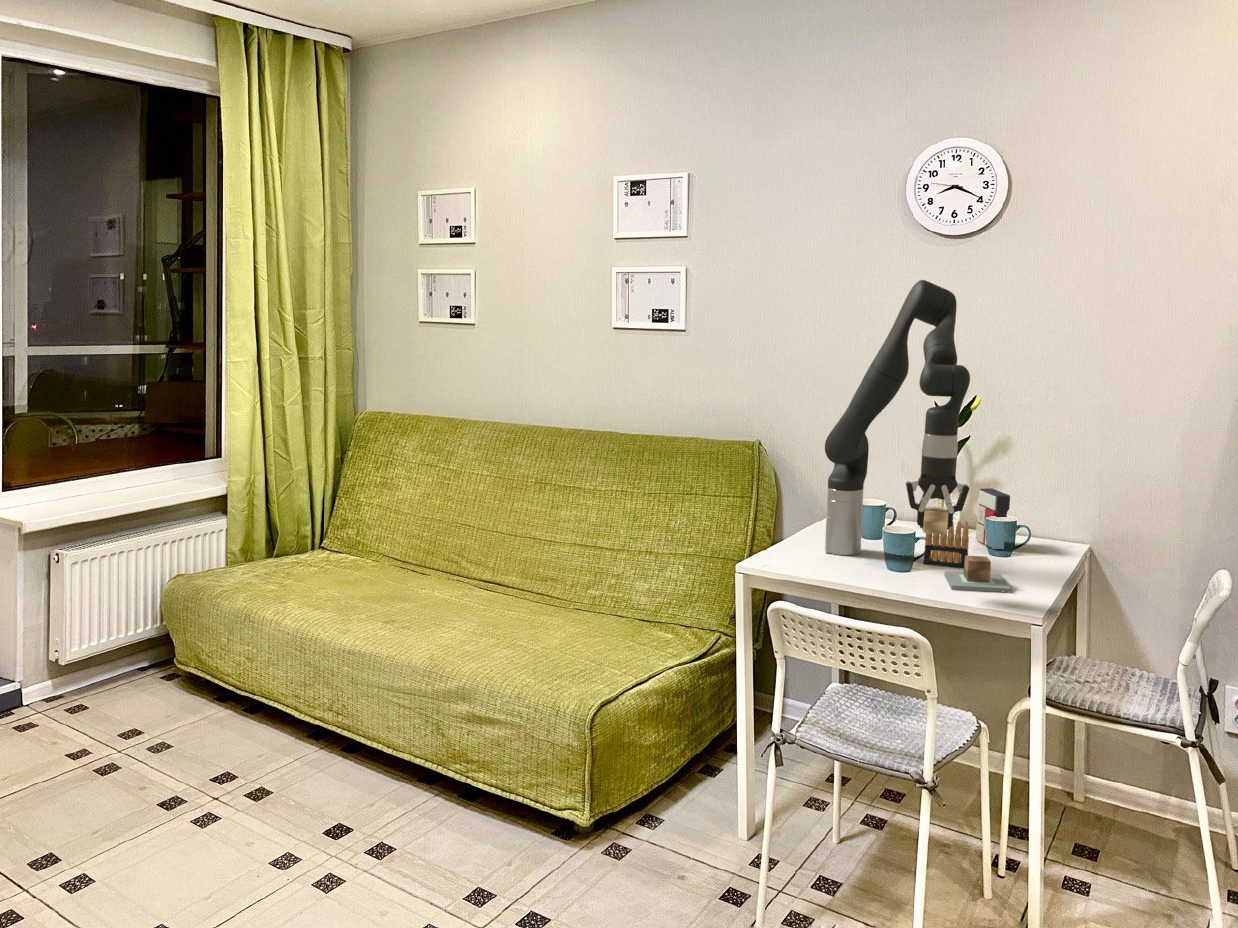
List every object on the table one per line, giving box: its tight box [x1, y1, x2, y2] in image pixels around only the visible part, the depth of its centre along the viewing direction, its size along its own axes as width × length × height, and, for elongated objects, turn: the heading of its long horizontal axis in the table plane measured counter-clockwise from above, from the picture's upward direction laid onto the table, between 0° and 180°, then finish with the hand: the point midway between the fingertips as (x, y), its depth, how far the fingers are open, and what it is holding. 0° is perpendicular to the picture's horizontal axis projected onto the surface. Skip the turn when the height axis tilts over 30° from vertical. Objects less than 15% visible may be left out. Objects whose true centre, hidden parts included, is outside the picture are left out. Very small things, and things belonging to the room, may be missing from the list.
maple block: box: [921, 506, 948, 535], centre depth 229 cm, size 5×5×5 cm
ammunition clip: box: [922, 520, 970, 570], centre depth 255 cm, size 11×2×12 cm, turn 65°
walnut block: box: [963, 555, 992, 583], centre depth 239 cm, size 5×5×5 cm
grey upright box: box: [975, 487, 1011, 546], centre depth 277 cm, size 11×4×15 cm, turn 5°
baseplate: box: [943, 570, 1012, 593], centre depth 240 cm, size 13×13×1 cm
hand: (934, 527), depth 229 cm, fingers closed on maple block, 5 cm apart
